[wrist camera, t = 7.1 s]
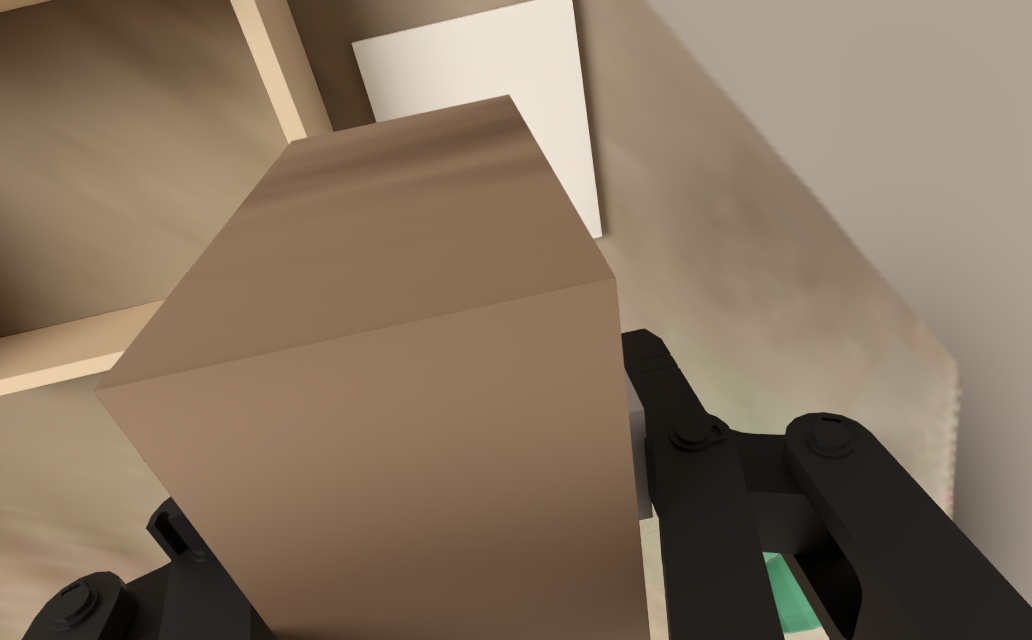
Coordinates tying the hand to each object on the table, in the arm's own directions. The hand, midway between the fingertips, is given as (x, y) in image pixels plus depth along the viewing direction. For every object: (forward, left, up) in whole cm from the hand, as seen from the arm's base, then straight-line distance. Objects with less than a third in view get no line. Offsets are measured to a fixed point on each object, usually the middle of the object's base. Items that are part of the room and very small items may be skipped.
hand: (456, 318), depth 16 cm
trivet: (0, +2, -16) cm, 16 cm away
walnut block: (0, 0, 0) cm, 0 cm away
